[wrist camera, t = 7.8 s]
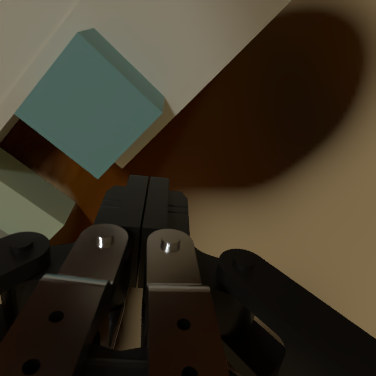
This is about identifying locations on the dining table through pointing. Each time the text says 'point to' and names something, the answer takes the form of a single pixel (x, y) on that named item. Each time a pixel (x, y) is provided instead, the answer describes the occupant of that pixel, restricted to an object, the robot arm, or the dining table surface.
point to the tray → (132, 51)
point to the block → (91, 103)
